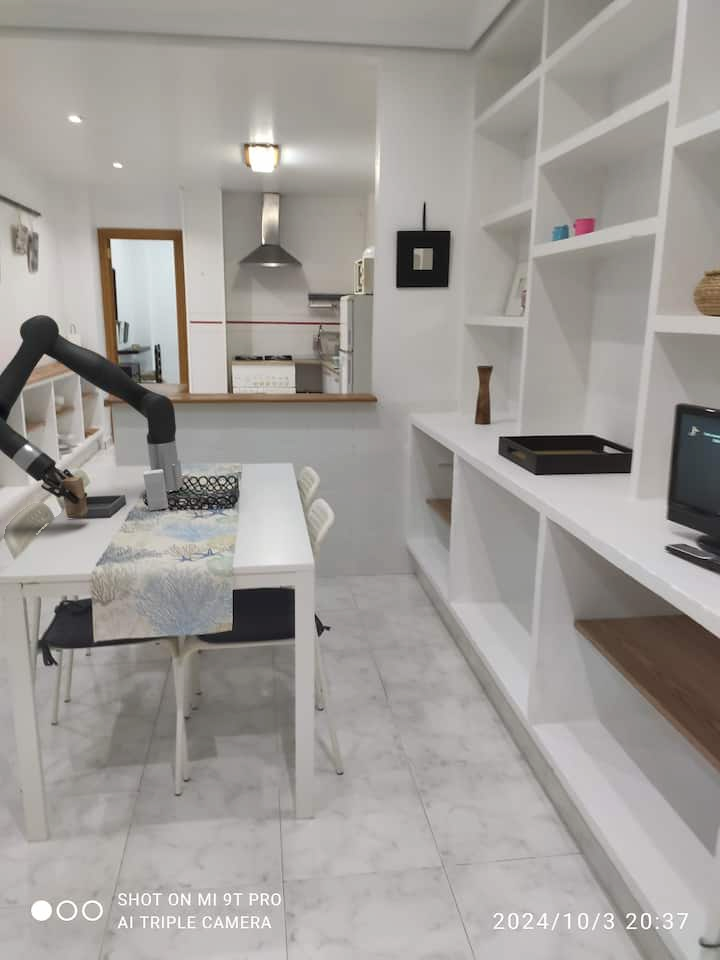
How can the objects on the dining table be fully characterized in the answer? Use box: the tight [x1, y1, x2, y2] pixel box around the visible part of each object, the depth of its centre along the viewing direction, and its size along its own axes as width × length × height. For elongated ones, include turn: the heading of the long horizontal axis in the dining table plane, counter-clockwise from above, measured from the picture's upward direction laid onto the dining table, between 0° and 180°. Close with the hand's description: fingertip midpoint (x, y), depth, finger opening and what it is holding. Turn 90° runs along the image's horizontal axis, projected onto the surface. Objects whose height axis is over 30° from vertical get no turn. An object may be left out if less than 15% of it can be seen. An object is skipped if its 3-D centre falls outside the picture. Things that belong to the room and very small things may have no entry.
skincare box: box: [143, 469, 169, 512], centre depth 220 cm, size 6×4×12 cm
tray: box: [67, 494, 127, 519], centre depth 221 cm, size 13×14×3 cm
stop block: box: [62, 476, 88, 518], centre depth 205 cm, size 4×4×11 cm
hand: (81, 499), depth 205 cm, fingers closed on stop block, 4 cm apart
